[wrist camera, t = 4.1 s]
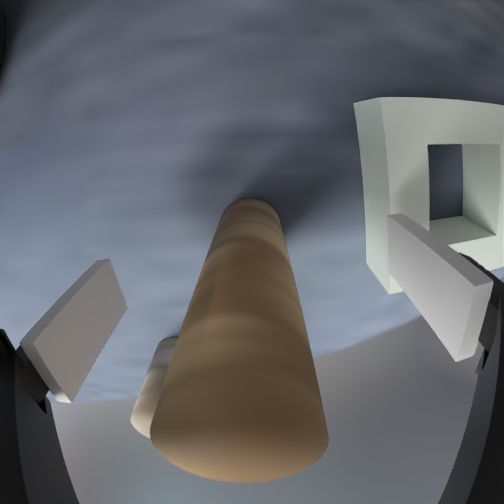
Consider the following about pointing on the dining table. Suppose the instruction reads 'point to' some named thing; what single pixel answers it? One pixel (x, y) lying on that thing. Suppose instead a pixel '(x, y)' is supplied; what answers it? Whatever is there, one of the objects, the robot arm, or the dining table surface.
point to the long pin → (242, 362)
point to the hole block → (417, 174)
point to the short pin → (152, 386)
